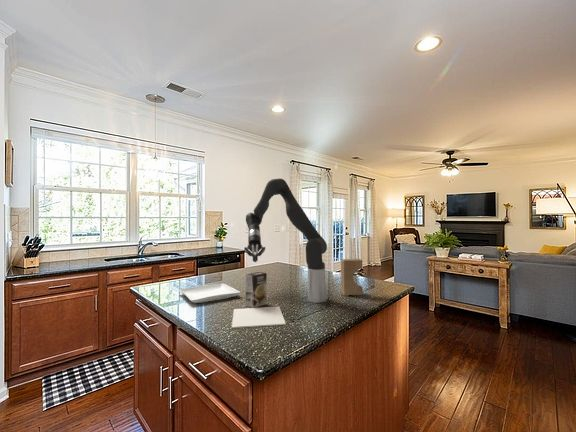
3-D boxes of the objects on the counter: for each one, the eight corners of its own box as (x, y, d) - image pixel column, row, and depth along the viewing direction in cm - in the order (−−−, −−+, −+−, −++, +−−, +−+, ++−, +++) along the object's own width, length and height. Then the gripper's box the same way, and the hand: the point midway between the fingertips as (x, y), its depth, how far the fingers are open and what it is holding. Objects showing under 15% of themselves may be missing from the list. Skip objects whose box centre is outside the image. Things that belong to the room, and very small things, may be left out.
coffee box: (253, 308, 135) (253, 275, 135) (245, 305, 139) (245, 273, 139) (267, 304, 142) (267, 272, 142) (258, 301, 146) (258, 271, 146)
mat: (279, 307, 136) (279, 306, 136) (285, 324, 115) (285, 323, 115) (233, 310, 133) (233, 309, 133) (231, 328, 111) (231, 327, 111)
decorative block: (358, 292, 163) (358, 258, 163) (362, 295, 157) (362, 260, 157) (340, 293, 161) (340, 259, 161) (344, 296, 155) (344, 260, 155)
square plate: (241, 298, 154) (241, 291, 154) (190, 307, 138) (190, 299, 138) (223, 288, 176) (223, 282, 176) (178, 295, 161) (178, 288, 161)
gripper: (243, 234, 165) (243, 257, 153) (265, 233, 167) (267, 256, 155) (243, 242, 170) (243, 265, 158) (265, 241, 172) (266, 264, 160)
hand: (255, 261), depth 157 cm, fingers closed
